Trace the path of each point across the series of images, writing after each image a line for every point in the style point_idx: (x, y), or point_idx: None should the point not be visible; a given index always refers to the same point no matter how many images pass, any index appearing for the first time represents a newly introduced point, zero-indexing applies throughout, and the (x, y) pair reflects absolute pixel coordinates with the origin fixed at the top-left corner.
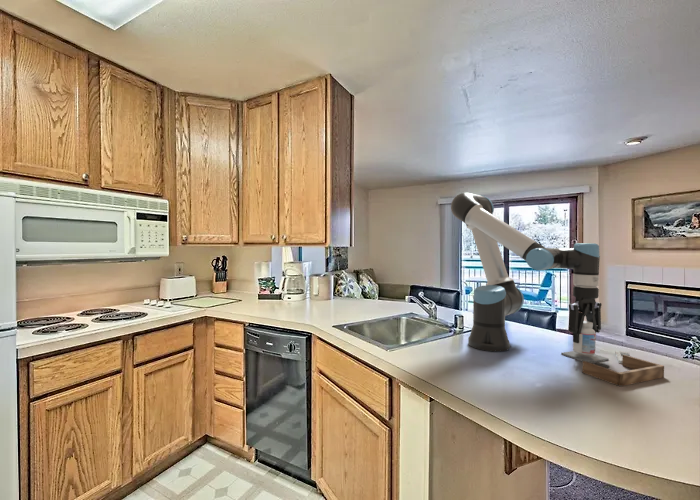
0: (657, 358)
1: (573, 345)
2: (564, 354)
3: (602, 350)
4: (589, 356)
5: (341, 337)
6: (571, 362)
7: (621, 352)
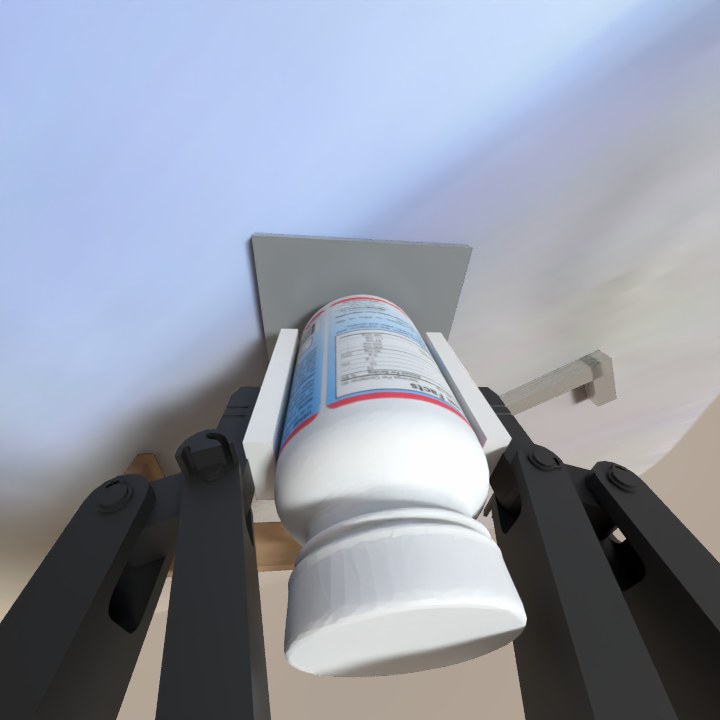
0: (634, 440)
1: (275, 351)
2: (257, 262)
3: (621, 287)
4: None
5: None
6: (191, 364)
7: (593, 385)
